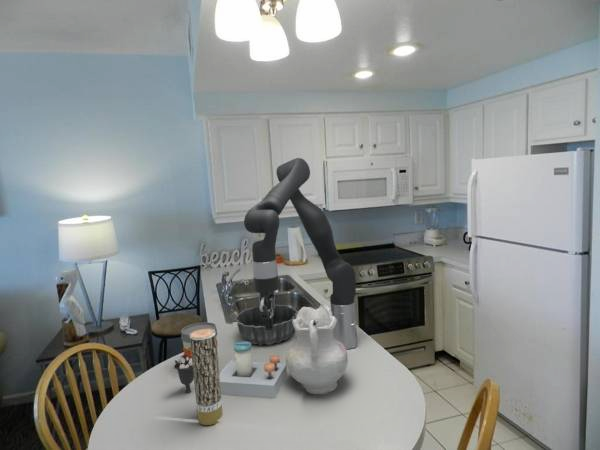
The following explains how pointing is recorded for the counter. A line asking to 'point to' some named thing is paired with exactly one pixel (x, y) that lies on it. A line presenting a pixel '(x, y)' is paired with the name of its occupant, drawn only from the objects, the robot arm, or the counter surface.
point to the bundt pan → (255, 325)
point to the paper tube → (206, 376)
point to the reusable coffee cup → (191, 328)
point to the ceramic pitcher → (316, 351)
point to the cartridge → (243, 359)
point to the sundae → (185, 370)
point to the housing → (252, 381)
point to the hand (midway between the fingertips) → (269, 329)
